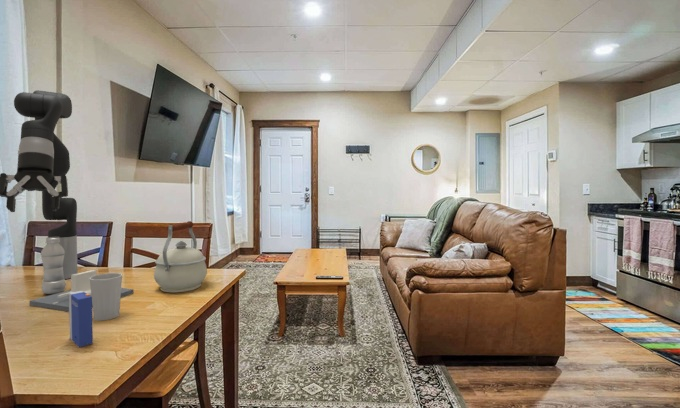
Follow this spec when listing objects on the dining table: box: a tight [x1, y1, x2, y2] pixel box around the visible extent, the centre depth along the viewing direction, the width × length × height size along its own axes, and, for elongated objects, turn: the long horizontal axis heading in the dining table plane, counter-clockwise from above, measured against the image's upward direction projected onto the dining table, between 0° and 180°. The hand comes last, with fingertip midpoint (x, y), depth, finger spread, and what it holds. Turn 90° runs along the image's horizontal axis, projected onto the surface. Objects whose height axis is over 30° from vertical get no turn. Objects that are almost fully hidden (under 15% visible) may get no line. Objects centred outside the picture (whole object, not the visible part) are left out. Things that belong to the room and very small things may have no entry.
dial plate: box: [29, 287, 135, 313], centre depth 114 cm, size 20×20×2 cm
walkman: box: [68, 291, 94, 348], centre depth 83 cm, size 8×3×12 cm, turn 52°
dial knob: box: [58, 269, 98, 297], centre depth 111 cm, size 12×8×8 cm, turn 164°
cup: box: [89, 272, 123, 321], centre depth 99 cm, size 8×8×12 cm
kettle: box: [153, 220, 208, 294], centre depth 130 cm, size 25×18×25 cm
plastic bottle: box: [40, 236, 67, 295], centre depth 119 cm, size 6×7×20 cm
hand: (33, 210), depth 91 cm, fingers open, 8 cm apart
